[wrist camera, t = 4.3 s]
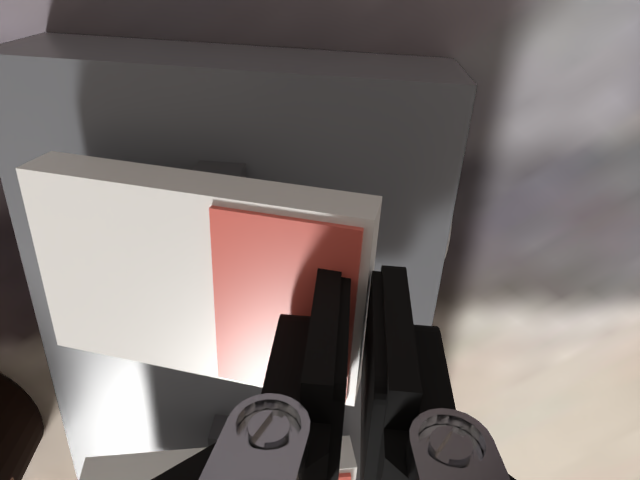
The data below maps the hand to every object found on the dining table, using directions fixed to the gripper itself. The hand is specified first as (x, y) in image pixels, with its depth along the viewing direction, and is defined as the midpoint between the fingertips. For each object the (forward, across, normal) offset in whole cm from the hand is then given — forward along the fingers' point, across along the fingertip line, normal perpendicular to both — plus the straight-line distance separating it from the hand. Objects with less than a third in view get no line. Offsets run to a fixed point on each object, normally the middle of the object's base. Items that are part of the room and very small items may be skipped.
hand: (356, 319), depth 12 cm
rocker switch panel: (+6, +4, +4) cm, 8 cm away
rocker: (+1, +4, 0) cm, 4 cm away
